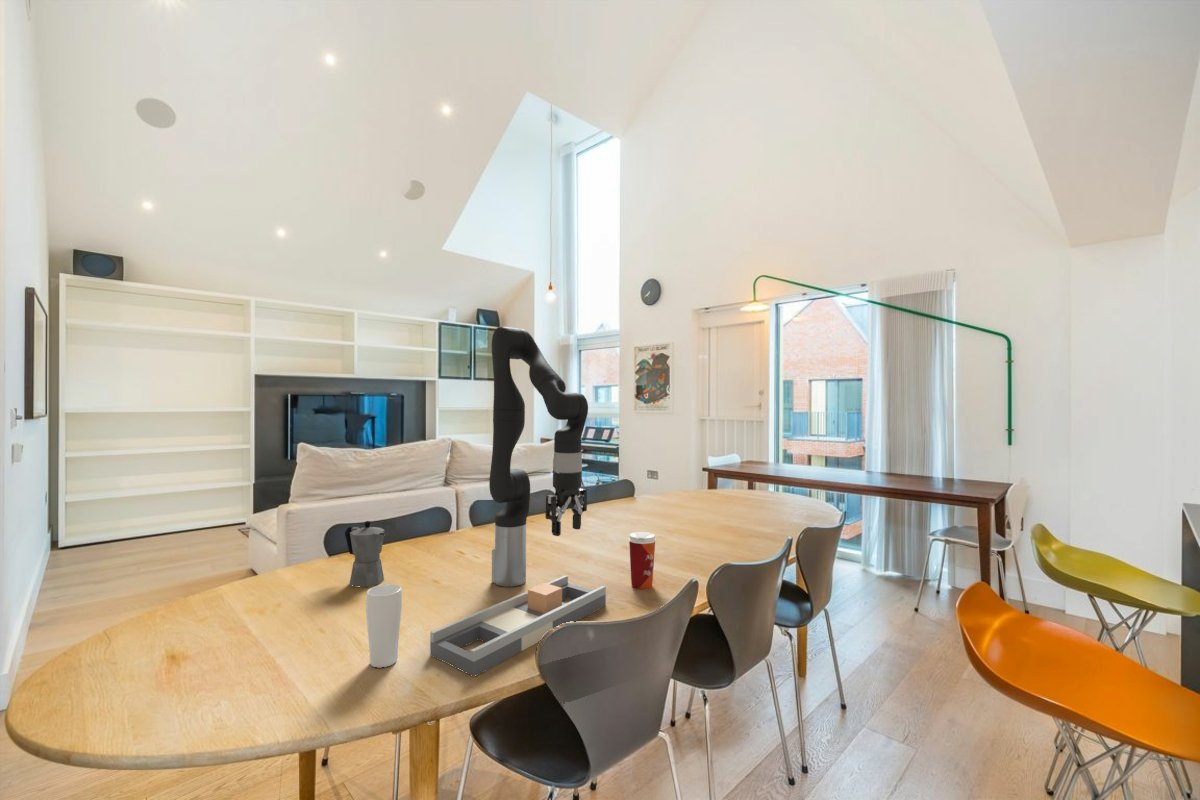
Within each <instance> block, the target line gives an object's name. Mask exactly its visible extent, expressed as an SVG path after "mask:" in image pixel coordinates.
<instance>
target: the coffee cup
mask: <svg viewBox="0 0 1200 800" xmlns="http://www.w3.org/2000/svg"><path fill="white" fill-rule="evenodd" d="M627 540H628V541H629V561H630V565H629V566H630V580H631V581H630V583H631V587H632V588H633V589H635V590H638V589H639V590H640V591H647V589H648V590H651V589H652V588H653V581H654V580H653V579H654V567H655V553H656V552H655V551H656V549H655V548H656V543H657V539H656V535H655V534H654V533H651V532H648V531H634V532H631V533H630V534H629V537H628V538H627ZM651 587H652V588H651Z"/></svg>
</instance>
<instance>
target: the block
mask: <svg viewBox="0 0 1200 800" xmlns="http://www.w3.org/2000/svg"><path fill="white" fill-rule="evenodd" d="M547 583H548V582H542V583H540V584H538V585H536V586H533V587H531V588H529V589H527V591H528V608H530V609H532V610H535V611H538V612H541V613H544V614H546V613H548V612H550V611H552V610H554V609H556V608H558V607H560V606H562V602H563V600H562V588H561V587H557V586H554V585H551V584H547Z"/></svg>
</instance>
